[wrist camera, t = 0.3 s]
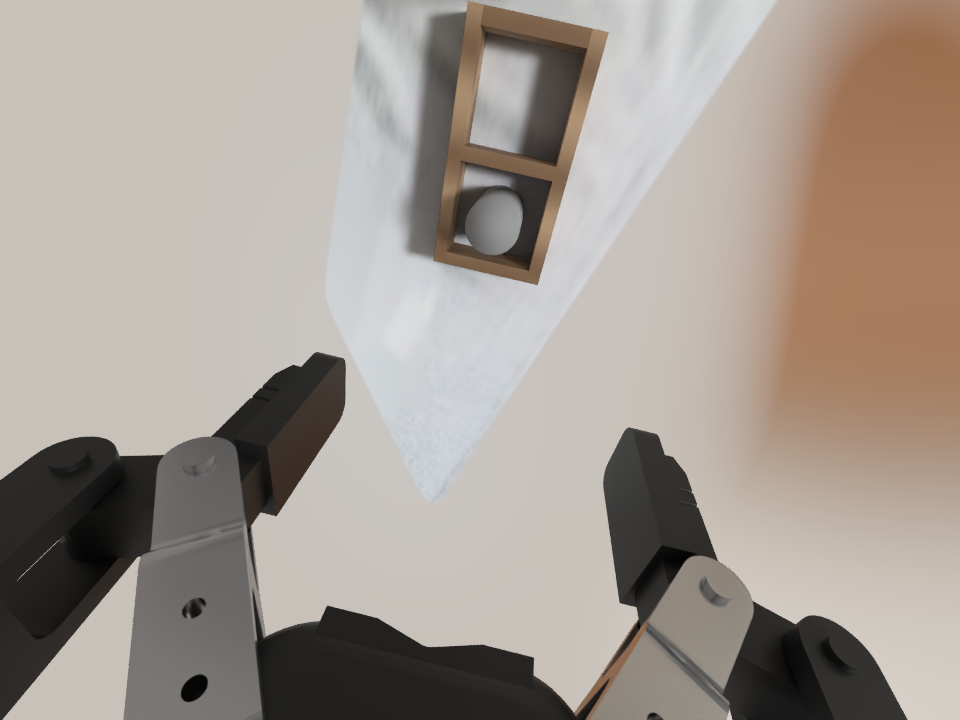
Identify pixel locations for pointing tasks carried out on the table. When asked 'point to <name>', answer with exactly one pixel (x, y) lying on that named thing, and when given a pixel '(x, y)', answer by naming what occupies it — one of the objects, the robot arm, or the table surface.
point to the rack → (463, 151)
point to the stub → (495, 220)
